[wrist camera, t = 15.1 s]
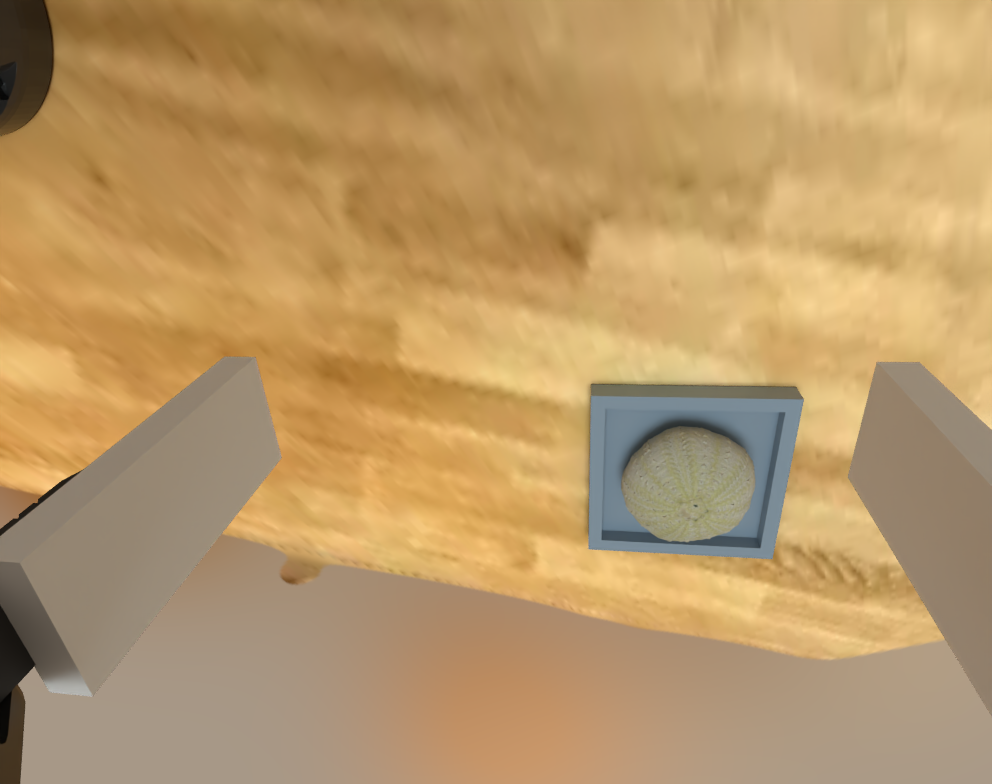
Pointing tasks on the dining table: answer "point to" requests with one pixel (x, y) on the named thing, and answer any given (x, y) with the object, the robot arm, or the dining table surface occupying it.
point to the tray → (720, 409)
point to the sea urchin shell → (688, 484)
